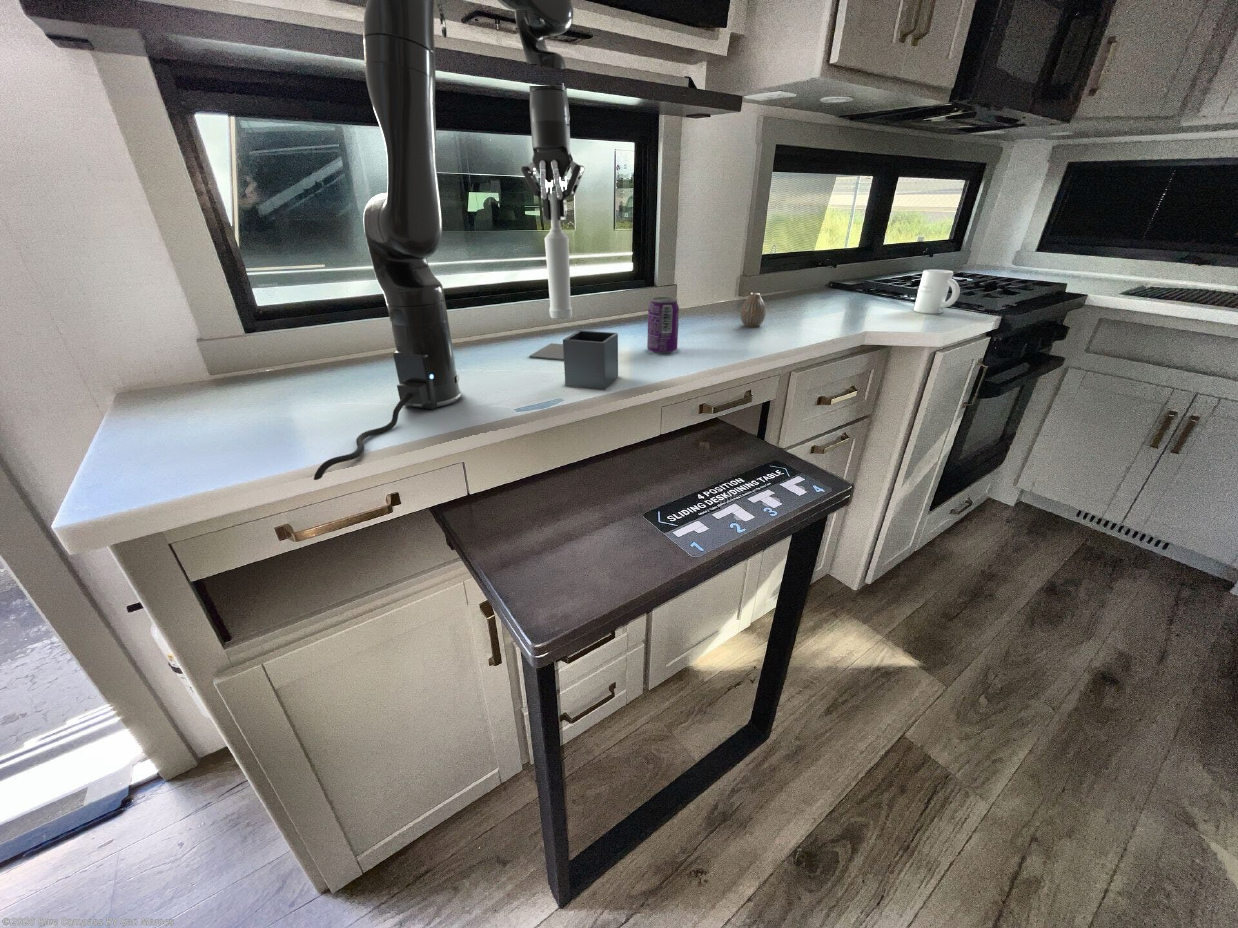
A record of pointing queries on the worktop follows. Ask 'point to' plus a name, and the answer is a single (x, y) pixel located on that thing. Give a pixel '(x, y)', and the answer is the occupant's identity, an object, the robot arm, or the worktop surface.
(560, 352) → the coaster
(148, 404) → the worktop surface
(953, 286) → the mug
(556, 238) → the bottle
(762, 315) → the vase
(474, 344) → the worktop surface
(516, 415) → the worktop surface
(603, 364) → the caddy
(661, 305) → the beverage can
